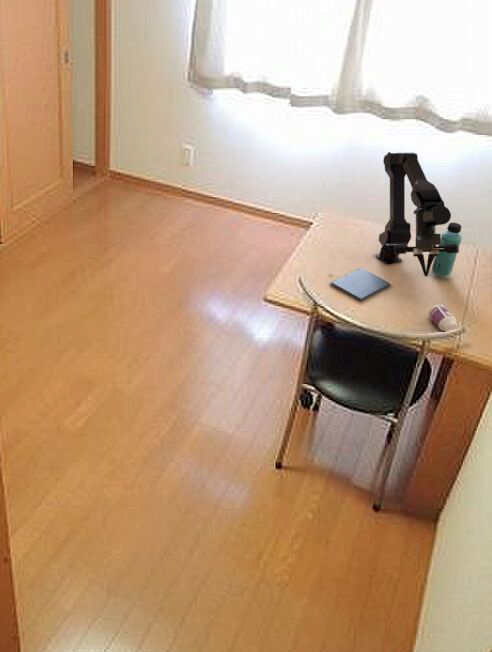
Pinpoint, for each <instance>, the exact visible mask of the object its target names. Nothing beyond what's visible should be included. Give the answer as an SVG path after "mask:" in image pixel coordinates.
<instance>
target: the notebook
mask: <svg viewBox="0 0 492 652" xmlns="http://www.w3.org/2000/svg"><path fill="white" fill-rule="evenodd" d="M330 286H331V287H333V288H335V289H337V290H339V291H341V292H342V293H344V294H346V295H348V296H349V297H351V298H352V299H355V300H357V301H359V302H363V301H364V300H366V299H368V298H370V297H372V296H374V295H376V294H377V293H379V292H382V291H383V290H385V289H387V288H389V287H390V286H391V282H389V281H387V280H385V279H383V278H382V277H380V276H378V275H376V274H374V273H372V272H370V271H368V270H366V269H364V268H362V267H359V268H357V269H355V270H353V271H351V272H349V273H347V274H345V275H343V276H341V277H339V278H337V279H335V280H333V281H331V282H330Z"/></svg>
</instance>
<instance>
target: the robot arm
mask: <svg viewBox="0 0 492 652" xmlns="http://www.w3.org/2000/svg"><path fill="white" fill-rule="evenodd" d="M418 159H419V157H418V154H417V153H416V152H411V151H410V152H409V151H388V152H387V153H386V154H385V155H383V160H382V161H383V165H384V171H385V173H386V174H387V176H388V178H389V220H388V221H387V223H386V225H385V226H384V230H383V232H382V233H380V234H378V242H379V243H380V245H381V248H380V251H379V253H378V254H375V257H376V258H377V259H379V260H380V261H382V262H384V263H385V264H387V265H392V264H395V263H400V262H401V261H402V258H401V257H400V255H406V254H407V253H412V254H413V255H412V256H413V257H416V258H417V260H418V262H419V264H420V266H421V269H422V272H423V275H424V277H428V276H429V273H430V270H431V268H432V265H433V262H434V259H435V257H436V256H439V254H438V253H439V252H447V253H457V254H459V253H460V245H458V244H445V246H439V245H441V237H442V233H436V232H437V231H436V227H437V226H442V225H446V224H447V223H448V224H449V222H450V221H451V219H452V213H451V211H450V209H449V208H448V207H447V206H445V202H444V200H443V199H442V196H441V195H440V192H439V190H438V188H437V187H436V185H435V184H434V183H432V182H430V181H429V180H428V179H427V176H426V175H425V173H424V170H423V168H422V166H421V164H420V162H419V160H418ZM406 177H407V179H408V182H409V184H410V187H411V191H410V200H411V202H412V205H414V206H415V207H416V209H414V211H413V214H414V215H415V246H408V244H409V243H410V241H411V239H412V233H411V223H410V222H408V221H407V220H406V217H405V215H406V214H405V213H406V211H405V210H406V209H405V207H406V206H405V205H406V204H405V202H406V200H405V199H406V198H405V197H406V195H405V192H406V191H405V190H406V189H405V187H406V186H405V178H406ZM423 253H428V255H427V262H426V263H425V256H424V254H423Z"/></svg>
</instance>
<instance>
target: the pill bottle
mask: <svg viewBox="0 0 492 652" xmlns="http://www.w3.org/2000/svg"><path fill="white" fill-rule="evenodd" d="M428 317H429V318H430V319H431V320H432V321H433V322H434V324H435V325H436V326H437V327H438V329H439V330H441V331H442V332H445V331H449V330H454V329H458V330H459V325H458V323H457V319H456V317H454V316H453V314H452V313H451V312H450V311H449V310H448V309H447V308H446V306H444V305H443V304H435V305H433V306H432V307H431V308H430V309H429V311H428Z"/></svg>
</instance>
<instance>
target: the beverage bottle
mask: <svg viewBox="0 0 492 652" xmlns="http://www.w3.org/2000/svg"><path fill="white" fill-rule="evenodd" d="M446 230H447V231H444V232H442V233H441V245H438V246H445V244H458V245H459V246H460V245H461V242H462V240H463V237H462V236H461V234H460V233H461V231H462V225H461V224H460V223H457V222H450V223H449V222H448V225H447V227H446ZM438 254H439V256H435V258H434V260H433V262H432V264H431V271H432V273H433V274H435V275H436V276H439V277H449V276H450V275H451V274H452V272H453V269H454V265H455V262H456V259H457V254H458V253H447V252H439V253H438Z"/></svg>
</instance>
